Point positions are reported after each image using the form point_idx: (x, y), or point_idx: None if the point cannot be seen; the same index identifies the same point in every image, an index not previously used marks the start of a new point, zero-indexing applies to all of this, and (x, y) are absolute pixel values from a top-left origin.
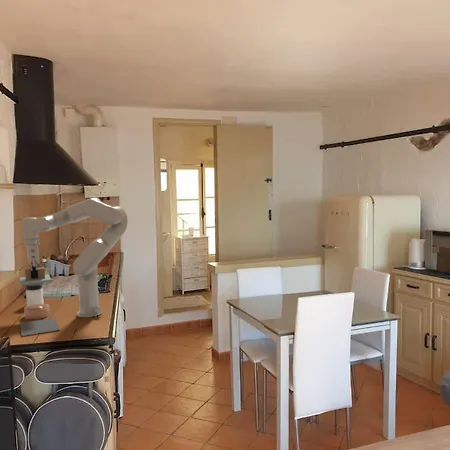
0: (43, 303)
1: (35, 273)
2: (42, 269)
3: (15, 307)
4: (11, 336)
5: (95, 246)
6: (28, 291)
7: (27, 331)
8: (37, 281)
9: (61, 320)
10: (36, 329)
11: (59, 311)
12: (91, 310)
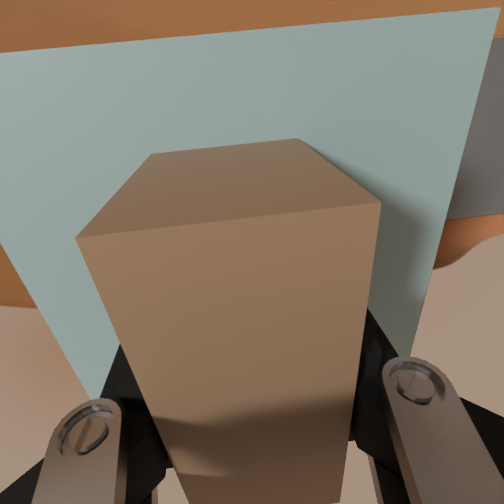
0: None
1: (376, 334)
2: (365, 250)
3: (18, 278)
4: (470, 245)
5: None
6: None
7: (477, 193)
8: (434, 240)
9: (389, 7)
10: (479, 155)
11: (169, 11)
12: None
